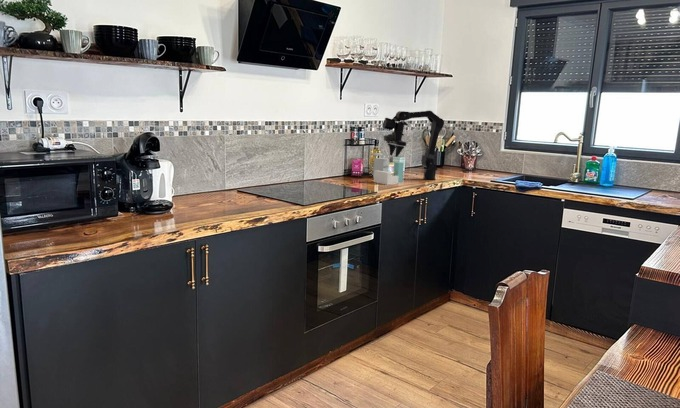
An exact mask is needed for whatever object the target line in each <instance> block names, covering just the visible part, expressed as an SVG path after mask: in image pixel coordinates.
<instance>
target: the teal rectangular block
mask: <svg viewBox="0 0 680 408" xmlns="http://www.w3.org/2000/svg"><path fill="white" fill-rule="evenodd" d="M404 163H405V162H402V161H396V162H394V163H393V174H391V176H399V177H398V184H399V183H403V178H404Z"/></svg>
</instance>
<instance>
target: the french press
mask: <svg viewBox="0 0 680 408" xmlns="http://www.w3.org/2000/svg"><path fill="white" fill-rule="evenodd" d="M375 140H376V142H377V141H379V140H380V138H379V137H376V139H375ZM372 153H373V154H372ZM372 153H370V156H374V157H380V158H384V156H383V153H381V152H379V153H375V152H372ZM372 162H374V161H372ZM372 165H373V166H372ZM371 166H372V167H373V168H372V167H371ZM370 167H371V168H372V169H373V170H374V163H371V162H370ZM372 169H370V170H372ZM373 170H372V171H373ZM372 171H371V173H372V175H373V172H372ZM372 175H371V176H372Z"/></svg>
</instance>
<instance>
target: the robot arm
mask: <svg viewBox="0 0 680 408" xmlns="http://www.w3.org/2000/svg"><path fill="white" fill-rule="evenodd" d="M416 118H417V119H418V118H427V119H428V122H430V127H431V133H430V138H429V141H428V146H427V150H426V152H425V154H424V155H422V156H421V160H420V161H421V165H422V167H423V170H424V171H423V180H426V181H436V180H437V179H436V171H437V170H438V167H437V165H436V164H435V151H436V147H437V144H438V139H439V134H440V132H441V131H442V129H443V127H444V125H445V120H444V119H443V118H441V117H440V116H438V115H437V114H435V113H434V112H433V111H432V110H425V111H424V110H423V111H412V112H411V111H405V110H404V111H401V110H399V111H397V112H396V113H395V116H393V118H390V117H389V118H388V117H385V118H384V120H383V122H382V129H385V130H390V131H393V132H391V133H388V134H386V135H383V141H384V142H386V144H387V146H388V147H389V156H393V154H394V153H395V156H394V157H395V158H397V157H399V155H400V154H401V153H402V152H403V150H404V149H405V147H407V142H406V141H404V140H402V138H403V137H404V136H405V135H404V134H405V133H404V129H405V126H409V124H408V123H407V120H410V119H416Z"/></svg>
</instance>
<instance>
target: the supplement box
mask: <svg viewBox="0 0 680 408" xmlns="http://www.w3.org/2000/svg"><path fill="white" fill-rule="evenodd" d="M373 160H374V165H373V166H374V167H373V168H374V169H373V176H372V178H373V179H374V171H375V170H379V171H385V172H390V171H389V169H390V168H389V167H390V158H386V157H385V158H384V157H383V158H381V157H377V158H376V157H375V158H373Z"/></svg>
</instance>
